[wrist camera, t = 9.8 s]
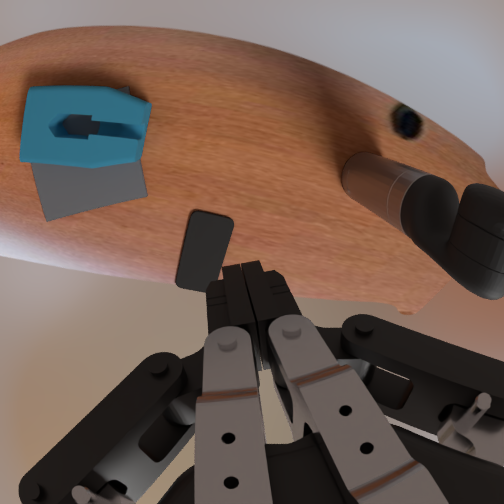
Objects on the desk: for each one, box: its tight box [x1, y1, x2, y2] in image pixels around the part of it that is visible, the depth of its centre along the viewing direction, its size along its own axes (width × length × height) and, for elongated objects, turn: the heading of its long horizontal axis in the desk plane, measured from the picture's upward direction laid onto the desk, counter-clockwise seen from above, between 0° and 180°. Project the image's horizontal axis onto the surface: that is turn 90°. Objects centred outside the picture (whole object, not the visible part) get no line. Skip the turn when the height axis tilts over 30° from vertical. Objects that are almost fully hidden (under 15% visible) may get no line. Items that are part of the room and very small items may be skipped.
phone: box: [176, 211, 234, 293], centre depth 49 cm, size 7×1×15 cm
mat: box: [31, 86, 148, 222], centre depth 38 cm, size 20×18×1 cm
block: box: [20, 85, 152, 169], centre depth 33 cm, size 12×5×20 cm
